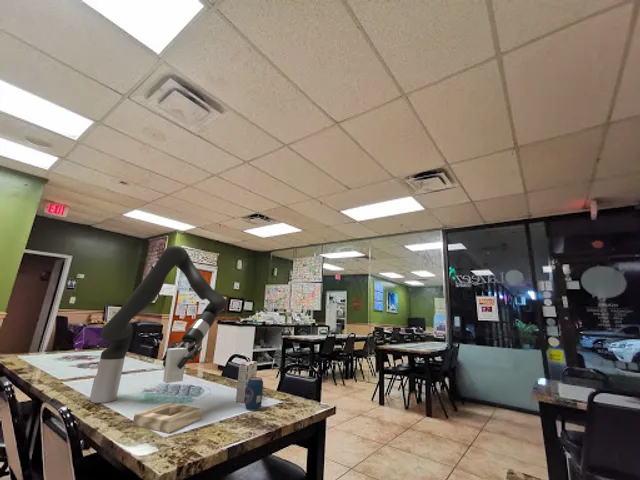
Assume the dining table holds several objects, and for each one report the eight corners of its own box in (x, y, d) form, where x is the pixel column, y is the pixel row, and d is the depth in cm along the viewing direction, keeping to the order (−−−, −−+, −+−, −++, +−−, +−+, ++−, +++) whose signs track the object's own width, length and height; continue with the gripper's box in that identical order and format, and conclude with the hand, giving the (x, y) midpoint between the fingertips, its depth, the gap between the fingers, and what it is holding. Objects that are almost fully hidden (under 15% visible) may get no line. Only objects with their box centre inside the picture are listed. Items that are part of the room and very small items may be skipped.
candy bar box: (245, 396, 146) (249, 360, 150) (254, 397, 145) (258, 361, 149) (234, 402, 135) (238, 363, 139) (244, 403, 134) (248, 364, 138)
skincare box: (178, 379, 117) (183, 347, 120) (182, 381, 114) (187, 348, 117) (162, 381, 113) (167, 348, 116) (166, 383, 110) (171, 349, 113)
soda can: (241, 407, 128) (244, 377, 131) (254, 405, 132) (257, 376, 135) (250, 412, 123) (253, 380, 126) (264, 408, 128) (266, 378, 131)
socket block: (132, 425, 103) (134, 414, 104) (167, 412, 117) (169, 402, 118) (168, 433, 98) (170, 421, 99) (201, 418, 113) (202, 408, 113)
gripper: (179, 325, 127) (152, 358, 113) (207, 327, 123) (182, 361, 109) (186, 338, 131) (160, 371, 117) (213, 340, 127) (190, 374, 113)
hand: (171, 366), depth 113 cm, fingers closed on skincare box, 6 cm apart
